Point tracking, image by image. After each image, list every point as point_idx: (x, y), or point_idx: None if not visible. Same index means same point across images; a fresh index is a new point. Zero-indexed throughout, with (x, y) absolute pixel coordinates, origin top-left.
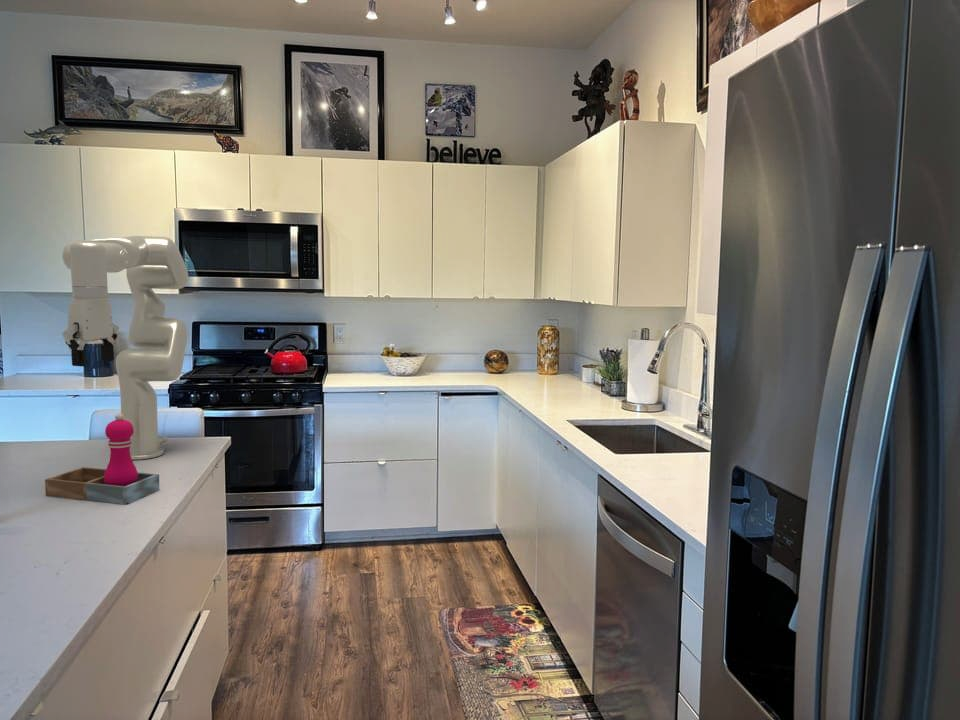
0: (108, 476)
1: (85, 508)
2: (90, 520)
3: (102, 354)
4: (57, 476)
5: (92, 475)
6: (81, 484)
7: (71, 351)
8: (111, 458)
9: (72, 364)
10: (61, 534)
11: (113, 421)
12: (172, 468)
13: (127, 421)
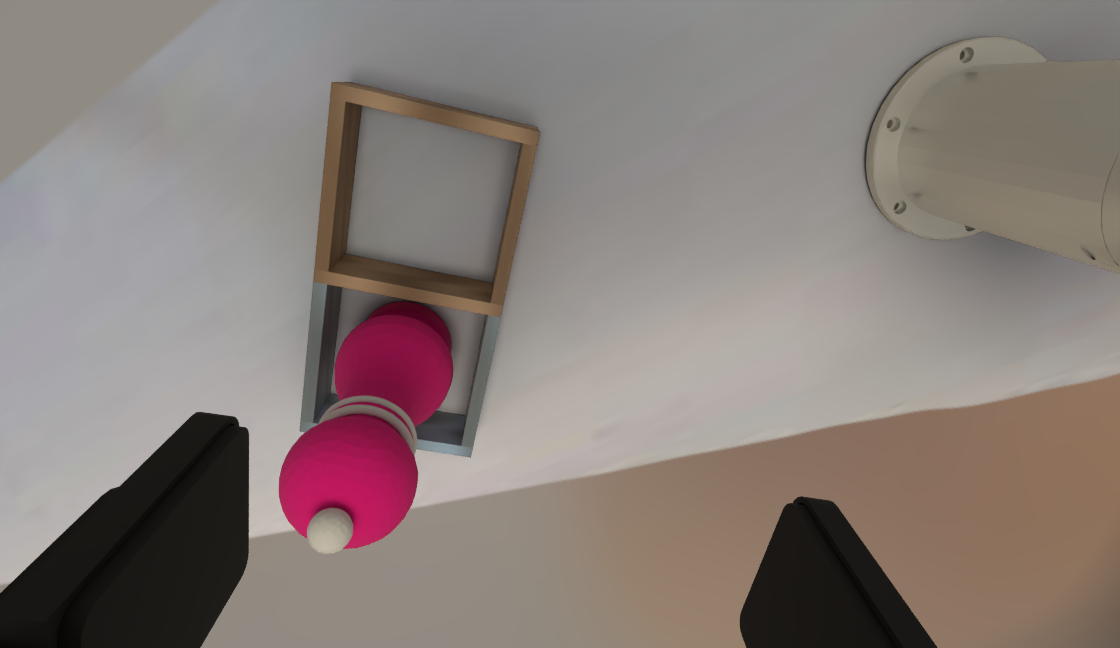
0: (336, 361)
1: (254, 304)
2: (157, 377)
3: (818, 575)
4: (383, 109)
5: (513, 186)
6: (316, 259)
7: (28, 579)
8: (345, 391)
9: (197, 419)
10: (26, 364)
11: (308, 500)
12: (735, 355)
13: (350, 545)
